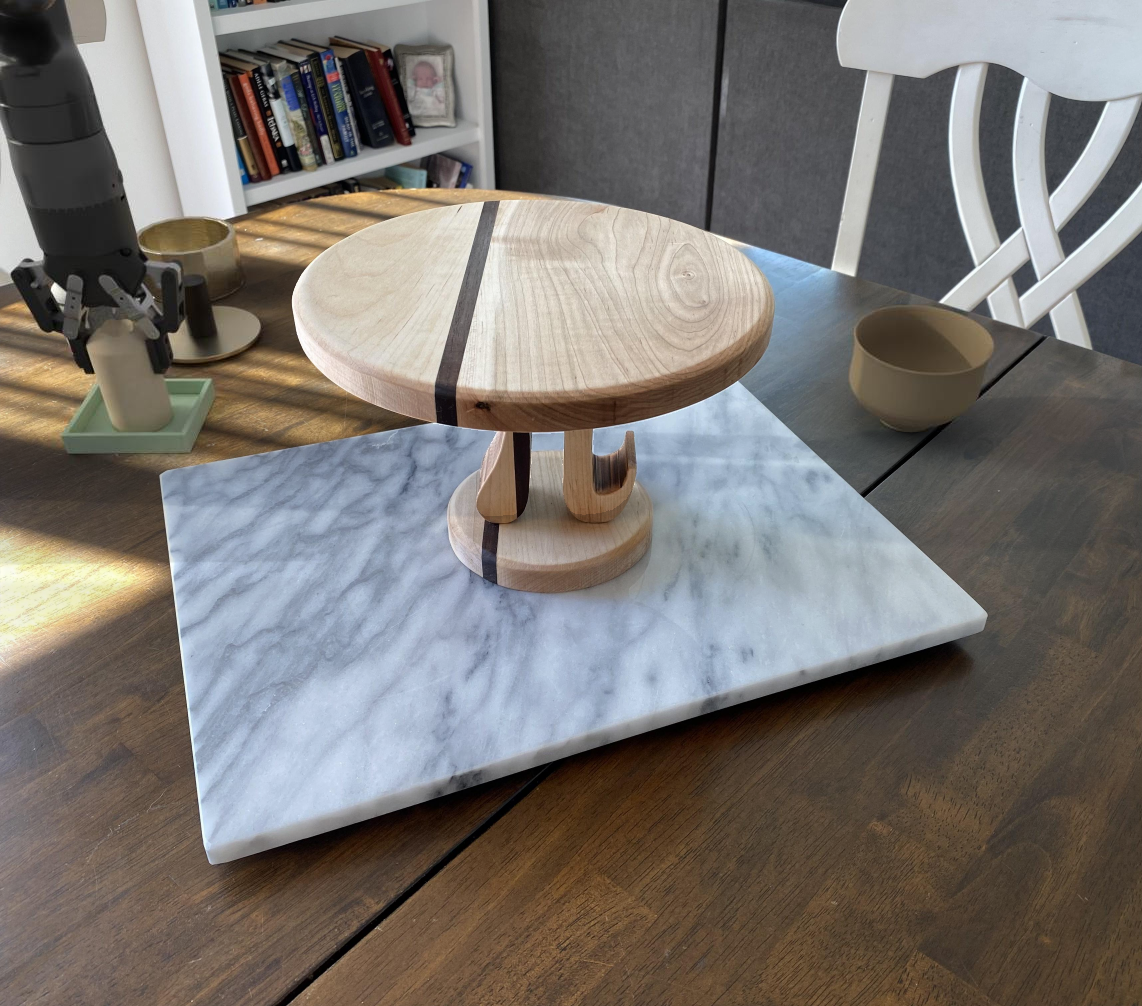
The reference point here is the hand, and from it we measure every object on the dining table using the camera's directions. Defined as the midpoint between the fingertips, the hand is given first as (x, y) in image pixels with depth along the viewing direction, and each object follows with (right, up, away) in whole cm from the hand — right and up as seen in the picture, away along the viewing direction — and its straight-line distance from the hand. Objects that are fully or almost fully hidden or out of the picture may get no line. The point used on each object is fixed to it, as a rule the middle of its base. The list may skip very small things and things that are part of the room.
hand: (128, 369), depth 86 cm
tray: (0, -5, +4) cm, 6 cm away
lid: (0, +6, +16) cm, 18 cm away
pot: (-5, +14, +27) cm, 31 cm away
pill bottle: (-10, +4, +15) cm, 18 cm away
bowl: (+74, -4, +8) cm, 74 cm away
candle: (0, -4, +4) cm, 6 cm away
